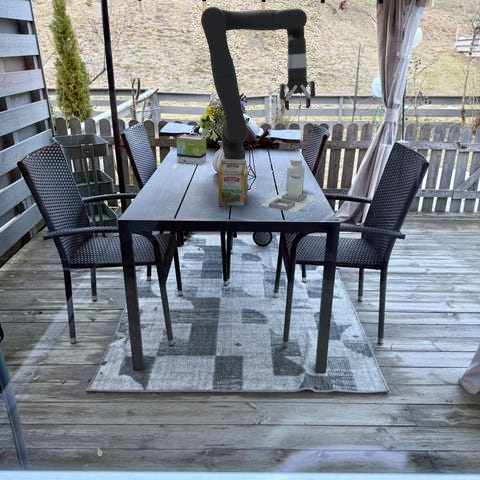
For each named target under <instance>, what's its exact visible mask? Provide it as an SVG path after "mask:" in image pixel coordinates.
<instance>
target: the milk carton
mask: <svg viewBox="0 0 480 480" xmlns="http://www.w3.org/2000/svg"><path fill="white" fill-rule="evenodd" d="M217 177H218V207H219V208H223V207H225V206H239V207H240V206H243V207H244V206H245V204H246V202H247V199H248V191H249V190H248V186H249V185H248V184H249V183H248V182H249V181H248V180H249V179H248V178H249V168H248V164H247V160H246V159H245V160H232V159H224V158H221V159H220V164H219V169H218V176H217Z"/></svg>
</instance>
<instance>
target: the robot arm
mask: <svg viewBox="0 0 480 480" xmlns="http://www.w3.org/2000/svg"><path fill="white" fill-rule="evenodd" d="M200 22H201V26H202V29H203V33H204V35H205V39H206V43H207V46H208V51H209V56H210V57H209V59H210V67H211V74H212V77H213V78H212V79H213V84H214V87H215V92H216V95H217V96H218V99H219V102H220V104H221V106H222V108H223V112H224V115H225V122H224V123H223V126H222V131H221V138H222V139H221V140H222V150H223V151H222V152H223V159H232V160H246V150H245V148H244V142H245V140H246V139H247V138H248V125H247V123H246V119H245V115H244V111H243V108H242V104H241V97H240V91H239V89H240V88H239V85H238V84H239V83H238V77H237V73H236V68H235V65H234V62H233V58H232V54H231V52H230V48H229V44H228V37H227V31H235V30H238V31H239V30H241V31H242V30H245V31H246V30H247V31H257V32H258V31H262V32H263V31H264V32H265V31H267V32H268V31H279V30H286V32H287V62H286V63H287V83H280V84H279V99H281V100H282V101H284V109H285V110H286V111H290V98H291V97H292V96H293V95H297V94H299V95H300V94H301V95H302V94H303V95H304V96H305V108H306V109H310V107H311V105H312V104H311V99H312V98H314V97H316V82H315V81H314V80H310V81H308V80H307V79H308V76H307V75H308V73H307V72H308V68H307V66H308V64H307V63H308V61H307V59H308V58H307V41H306V38H305V26H306V24H307V22H308V16H307V13H306V12H305V11H304V10H303V9H301V8H289V9H288V8H287V9H253V10H241V11H239V10H238V11H235V10H234V11H233V10H225V9H221V8H219V7H217V6H209V7H206V9H204V10H203V12H202V14H201V17H200ZM307 87H309V91H310V93H309V91H308V90H307ZM287 88H288V91H287V93H286V95H285V90H286V89H287Z"/></svg>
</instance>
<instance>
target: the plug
mask: <svg viewBox="0 0 480 480" xmlns="http://www.w3.org/2000/svg"><path fill="white" fill-rule="evenodd" d="M302 184H303V185H304V183H303V178H302V177H301V175H298V174H293V175H291V178H289V187H288V191H287V192H288V196H290V197H295V198H299V197H301V196H302V193H303V191H302Z"/></svg>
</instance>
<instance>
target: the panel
mask: <svg viewBox="0 0 480 480" xmlns="http://www.w3.org/2000/svg"><path fill="white" fill-rule="evenodd" d="M315 199H316V198H313V197H308V196H307V193H304V192H302V196H301V197H299V198H295V197H290V196H288V191H286V192H281V193H279V194H277V195H275V196H274V197H271V198H270V199H268V200H266V201H265V202H263V203H261V204H259V206H261V207H265V208H269V209H270V208H271V209H276V210H280V211H286V212H290V213H297V212H298V211H300V210H301V209H302V208H304V207H305V206H307V205H309V204H310V203H312V202H313V201H314V200H315Z"/></svg>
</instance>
